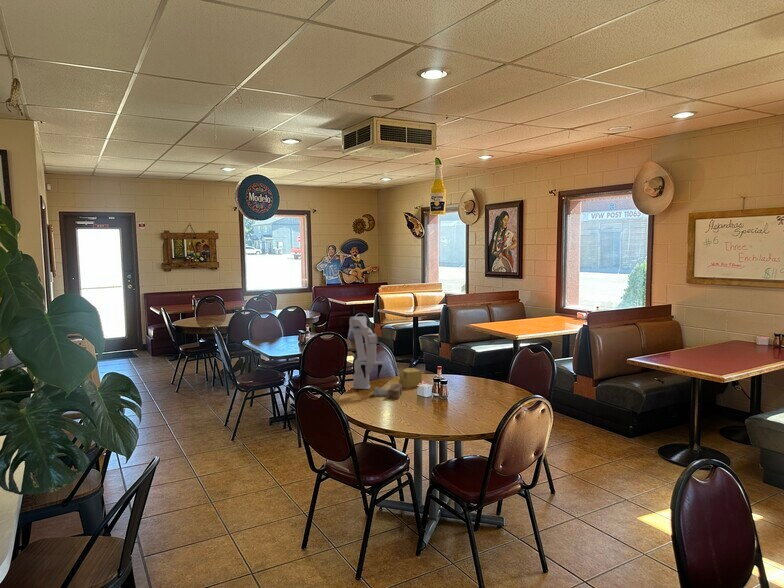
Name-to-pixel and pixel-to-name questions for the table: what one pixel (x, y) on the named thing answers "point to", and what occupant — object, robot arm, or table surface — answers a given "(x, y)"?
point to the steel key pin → (380, 392)
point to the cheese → (410, 377)
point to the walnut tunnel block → (395, 391)
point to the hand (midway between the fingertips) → (371, 377)
